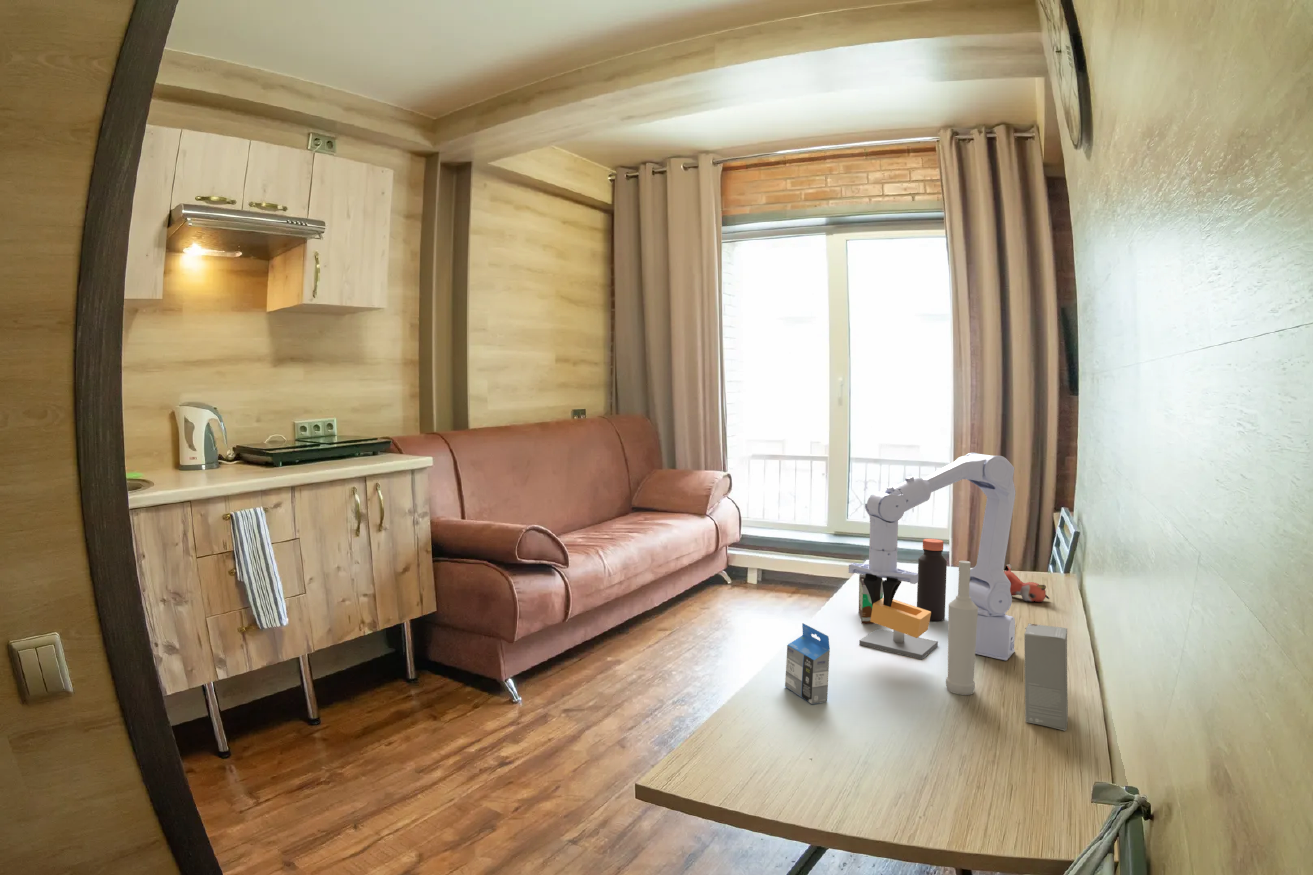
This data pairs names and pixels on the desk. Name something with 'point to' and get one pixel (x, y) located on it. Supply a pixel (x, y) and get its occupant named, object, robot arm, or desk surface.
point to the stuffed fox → (1025, 587)
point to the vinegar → (932, 579)
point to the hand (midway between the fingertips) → (881, 610)
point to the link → (901, 617)
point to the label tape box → (808, 666)
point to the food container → (865, 601)
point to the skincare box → (1046, 676)
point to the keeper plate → (899, 643)
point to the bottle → (962, 636)
